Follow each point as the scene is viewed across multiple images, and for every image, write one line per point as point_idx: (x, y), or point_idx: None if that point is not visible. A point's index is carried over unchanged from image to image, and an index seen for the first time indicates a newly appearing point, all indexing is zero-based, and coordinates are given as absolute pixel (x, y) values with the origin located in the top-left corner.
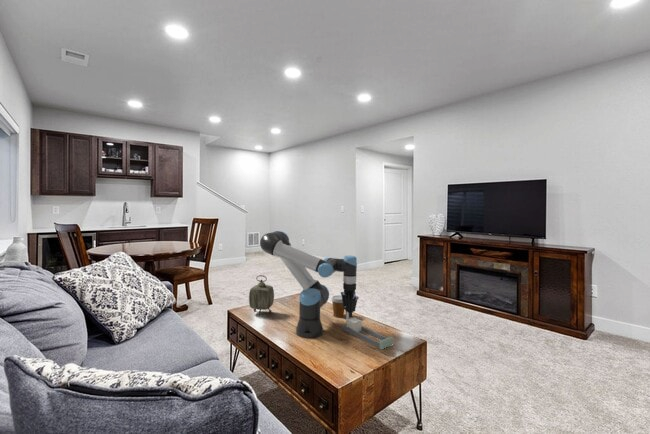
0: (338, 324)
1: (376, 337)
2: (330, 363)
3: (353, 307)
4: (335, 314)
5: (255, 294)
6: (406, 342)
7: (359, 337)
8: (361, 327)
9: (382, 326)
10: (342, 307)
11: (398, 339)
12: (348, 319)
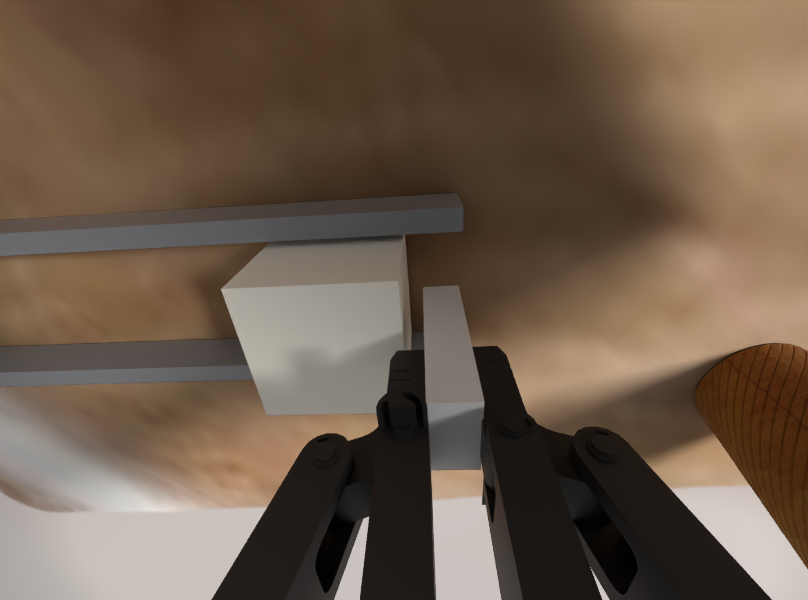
0: (593, 247)
1: (116, 346)
2: None
3: (237, 590)
4: (790, 361)
5: None
6: (20, 448)
7: (150, 213)
8: None
9: None
10: (783, 489)
11: (76, 442)
12: (390, 307)
